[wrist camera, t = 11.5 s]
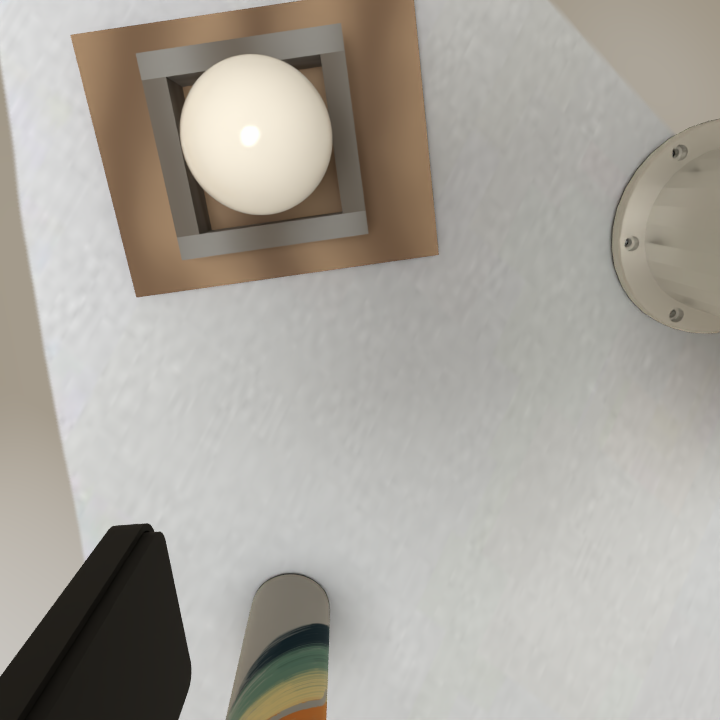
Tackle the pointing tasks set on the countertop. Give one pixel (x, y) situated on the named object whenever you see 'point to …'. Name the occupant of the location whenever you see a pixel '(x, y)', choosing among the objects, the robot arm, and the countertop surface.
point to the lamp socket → (347, 163)
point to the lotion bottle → (284, 654)
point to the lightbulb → (256, 134)
